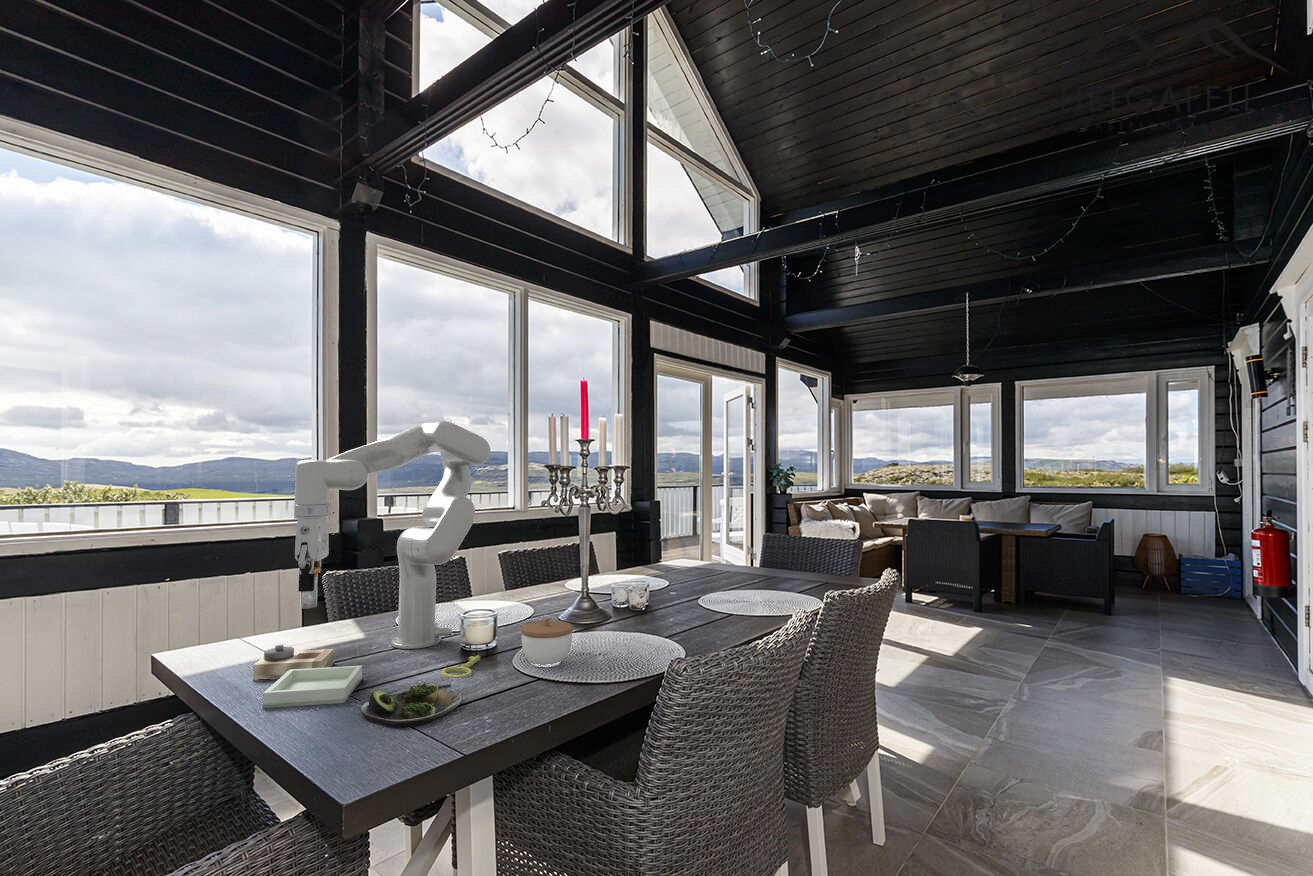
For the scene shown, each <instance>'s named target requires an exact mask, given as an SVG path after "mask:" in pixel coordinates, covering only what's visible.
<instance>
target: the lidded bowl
mask: <svg viewBox="0 0 1313 876" xmlns="http://www.w3.org/2000/svg"><path fill="white" fill-rule="evenodd" d="M573 628H574V627H573V624H572V623H571V622H568V621H563V620H554V619H552V620H551V619H550V617H544V620H536V621H531V622H530V621H529V622H528V623H525V624H523V625H522V626H521V627H520V632H521V635H520V636H521V648H522V651H523V655H524V656H525V658H526V660H528V661H529V663H531V664H532V663H533V664H540V665H546V664H553V663H557V662H560V661H562V660H563V661H564V660H565V659H566V658H567V656H568V654H569V652H570V650H571V646H572V640H573ZM563 661H562V662H563Z"/></svg>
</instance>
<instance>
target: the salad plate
mask: <svg viewBox="0 0 1313 876" xmlns="http://www.w3.org/2000/svg"><path fill="white" fill-rule="evenodd" d="M451 687H452V684H451V683H448V684H441V685H436V683H435V682H432V683H431V685H428V684H427V683H425V682H424V683H423V684H422V685H421V684H418V685H411V686H410V687H408V688H404V689H401V690H399V691H396V692H394V693H391V694H390V693H388V692H387V691H384V690H381V689H375V690H374V691H372V693H371V694H370V697H369V698H366V699H362V700H360V701H358V702H357V703H356V704H358V705H360V706H361V709H360V713H361V715H362V717H364V719H365V720H366V721H368V722H371V723H374V724H377V725H379V726H384V727H389V728H410V727H416V726H417V727H418V726H421V725H423V724H426V723H427V724H428V723H429V722H430V723H431V722H432V721H434V720H436V719H438V718H439V717H440V718H441V717H442V716H444V715H446V714H447V713H449V712H451V711H452V710H454V709H456V707H458V706H460V704H461V703H462V701H463V700H462V698H463V697H462V696H461V695H460V694H458V693H451V692H448V691H447V690H448V689H450V688H451ZM437 704H438V705H439V704H441V705H445V707H444V709H443V710H442V711H438V712H436V707H435V705H437Z"/></svg>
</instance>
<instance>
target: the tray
mask: <svg viewBox="0 0 1313 876" xmlns="http://www.w3.org/2000/svg"><path fill="white" fill-rule="evenodd" d="M362 680H363V665H349V666H348V665H347V666H330V667H326V668H308V669H290V670H289V671H287V672H286V673H285V674H284V675H283V676H282V677H281V678H280V679H276V681H275V682H274V683H273V684H271V685H270V686H269V687H268V688H267V689H266V690H265V691H264V692H262V709H271V708H287V707H288V708H291V707H302V706H303V707H304V706H318V705H330V704H344V703H345V702H346V701H347V700H348V699H349V697H350V696H351V695H352V693H353V692H354V690H355V689H356V688H357V686H358V685H359V684H360V683H361V681H362Z"/></svg>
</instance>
